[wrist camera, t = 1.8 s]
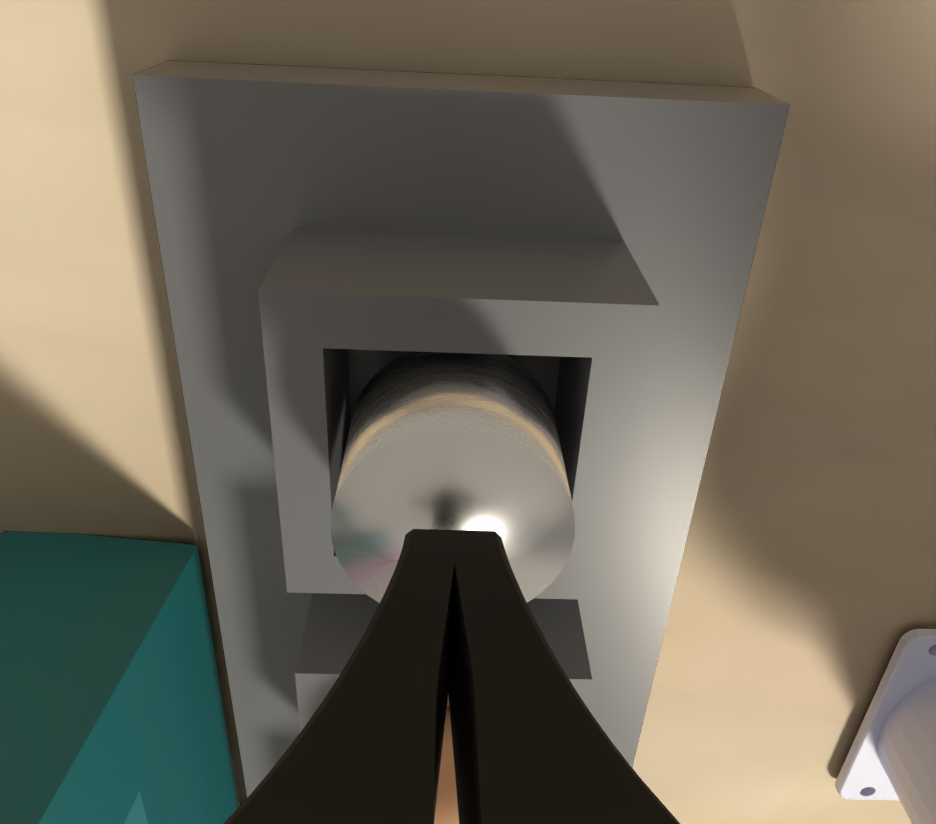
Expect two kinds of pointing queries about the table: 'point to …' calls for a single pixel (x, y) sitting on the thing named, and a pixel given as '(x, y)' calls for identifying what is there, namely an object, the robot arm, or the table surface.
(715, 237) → the control panel
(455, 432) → the knob
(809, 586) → the table surface
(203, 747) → the teal l-shaped bracket
